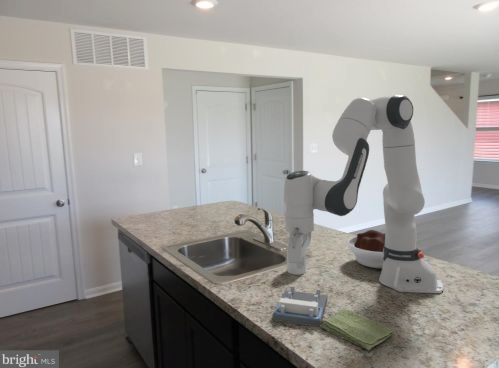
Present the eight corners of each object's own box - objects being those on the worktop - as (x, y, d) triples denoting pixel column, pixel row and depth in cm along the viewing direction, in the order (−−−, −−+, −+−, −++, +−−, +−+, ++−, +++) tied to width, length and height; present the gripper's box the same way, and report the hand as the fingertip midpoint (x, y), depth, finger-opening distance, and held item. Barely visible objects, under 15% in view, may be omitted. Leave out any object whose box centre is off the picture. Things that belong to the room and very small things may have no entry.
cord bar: (318, 311, 118) (318, 302, 117) (316, 316, 115) (316, 306, 114) (281, 306, 121) (281, 297, 121) (278, 310, 119) (278, 301, 118)
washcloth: (370, 355, 99) (370, 344, 98) (318, 329, 112) (318, 319, 112) (395, 336, 107) (395, 326, 107) (344, 314, 120) (344, 305, 120)
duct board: (327, 300, 129) (327, 288, 129) (320, 326, 112) (320, 312, 112) (285, 295, 134) (285, 283, 133) (272, 319, 117) (272, 306, 116)
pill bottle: (291, 276, 151) (291, 240, 149) (284, 269, 159) (284, 235, 157) (309, 274, 153) (309, 238, 151) (301, 267, 161) (301, 233, 159)
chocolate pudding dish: (403, 256, 172) (404, 225, 169) (411, 277, 148) (412, 241, 146) (347, 253, 178) (348, 222, 176) (346, 272, 155) (347, 237, 152)
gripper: (304, 234, 103) (305, 281, 105) (314, 216, 122) (314, 257, 124) (281, 233, 105) (283, 279, 107) (295, 216, 124) (296, 256, 126)
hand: (300, 267), depth 116 cm, fingers closed
